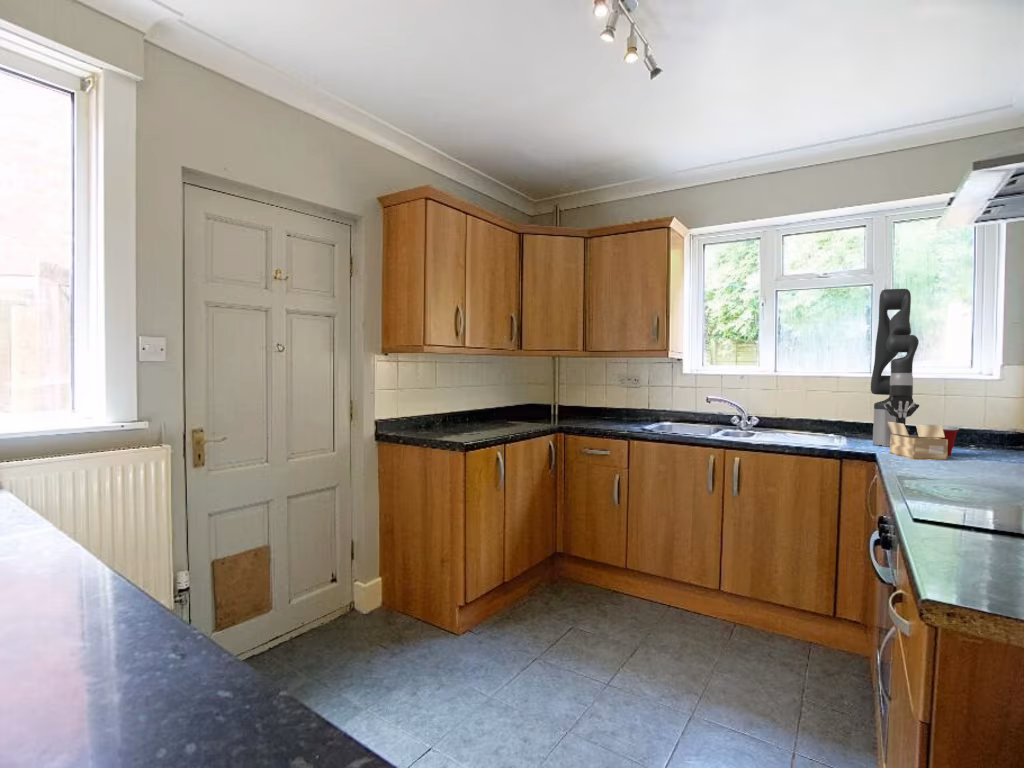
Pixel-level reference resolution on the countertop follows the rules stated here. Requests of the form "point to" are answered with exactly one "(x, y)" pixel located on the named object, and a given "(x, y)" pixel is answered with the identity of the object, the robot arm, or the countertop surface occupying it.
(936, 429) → the short flap
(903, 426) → the long flap
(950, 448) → the plastic cup
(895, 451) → the carton
